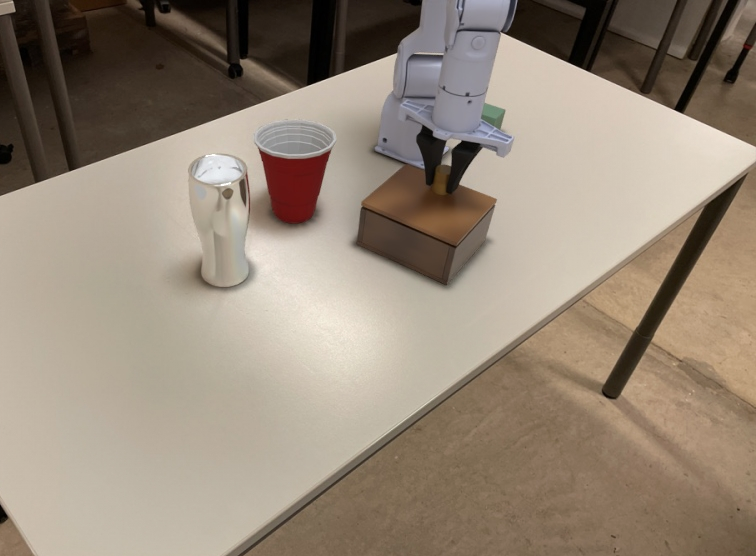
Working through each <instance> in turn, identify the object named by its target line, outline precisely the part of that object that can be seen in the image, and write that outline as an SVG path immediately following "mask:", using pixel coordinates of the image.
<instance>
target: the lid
mask: <svg viewBox="0 0 756 556" xmlns="http://www.w3.org/2000/svg"><path fill="white" fill-rule="evenodd" d="M450 171H451V165H449V164H444V163H441V165H438V166H437V167H436V169H435V174H434V179H433V184H432V185H431V186H429V185H426V178H425V170H423V169H421V168H418V167H415V166H413V165H410V164H408V163H405V164H404V165H403V166H402V167H400V168H399V169H398V170H397V171H396V172H395V173H393V174H392V175H391V176H390V177H389V178H387V180H385V181H384V182H383V183H382V184H381V185H379V186H378V187H377V188H376V189H374V190H373V192H371V193H369V195H368V196H367V197H365V198H364V199H363V200H362V201H361V202H360V206H361V207H362V206H363V207H366V208H368V209H370V210H373V211H375V212H377V213H380V214H382V215H384V216H387V217H389V218H391V219H394V220H396V221H398V222H401V223H403V224H405V225H408V226H410V227H412V228H415V229H417V230H419V231H422V232H424V233H426V234H429V235H431V236H433V237H436V238H438V239H440V240H442V241H445V242H447V243H449V244H452V245H454V246H457V245H458V244H459V243H460V242H461V241H462V240H463V238H464V237H465V236H466V235H467V234H468V233H469V232H470V231H471V230H472V229H473V227H474V226H475V225H476V224H477V223H478V222H479V221H480V220H481V219H482V218H483V216H484V215H485V214H486V213H487V212H488V211H489V210H490V209H491V208H492V207H493V206H494V205H496V203H497V201H498V199H497V198H495V197H493V196H491V195H488V194H485V193H483V192H480V191H477V190H475V189H472V188H470V187H467V186H465V185H461V184H460V183H459V186H458V188H457V189H456V190H455V191H454V192H453V193H452V194H449V193H446V188H447V183H448V180H449V176H450Z"/></svg>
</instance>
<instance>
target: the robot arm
mask: <svg viewBox="0 0 756 556" xmlns="http://www.w3.org/2000/svg"><path fill="white" fill-rule="evenodd" d="M517 3H518V0H422V2H421V10H420V18H419V19H420V20H419V26H418V28H416V29H415V30H414V31H413V32H411V33H410V34H408V35H407V36H406V37H404V38H403V39H402V40H401V41H400V42H399V45H398V46H397V53H396V57H395V61H394V66H393V74H392V90H391V91H390V93H389V94H388V95H387V97H386V98H385V100H384V103H383V106H382V109H381V114H380V122H379V129H378V130H379V131H378V136H377V143H376V144H377V145H376V146H374V151H375V152H377V153H380V154H382V155H384V156H388V157H390V158H393V159H395V160H398V161H400V162H402V163H405V164H408V165H411V166H413V167H416V168H418V169H421V170H424V171H425V178H426V185H429V186H431V185H432V184H433V179H434V174H435V169H436V167H437V166H438V165H442V160H443V156H444V155H445V154H446V153H447V152H448V151H449V149H450V148H449V146H447V145H446V144H447V142H448V141H449V140H450V139H453V140H458V141H460V142H458V143H457V144H456V145H455V146H454V147H453V148H451V153H450V154H451V159H450V160H451V163H450V166H451V171H450V176H449V180H448V183H447V188H446V193H449V194H452V193H453V192H454V191H455V190H456V189H457V188H458V186H459V184H460V183H461V181H462V179H463V176H464V175H465V173H466V172H467V170H468V169H469V167H470V165H471V164H472V162H473V161H474V159H475V158H476V157H477V156H478V155H479V153H480V152H481V150H482V149H486V150H490V151H492V152H495V155H496V156H497V157H500V158H503V159H504V158H506V157H507V156H508V154H509V153H511V151H512V149H513V148H512V147H513V144H514V141H515V136H513V135H511V134H509V133H506V132H504V131H502V130H501V129H500V130H499V129H497V128H495V127H494V126H492V125H490V124H489V123H487V122H485V121H484V120H482V119H481V115H482V111H483V106H484V103H486V98H487V95H488V94H487V93H488V89H489V85H490V82H491V78H492V72H493V69H494V66H495V61H496V57H497V53H498V49H499V45H500V40H501V36H502V33H501V31H502V32H503V33H507V32H508V31H509V29H510V28H511V26H512V23H513V21H514V17H515V14H516V10H517V6H518V5H517Z"/></svg>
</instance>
